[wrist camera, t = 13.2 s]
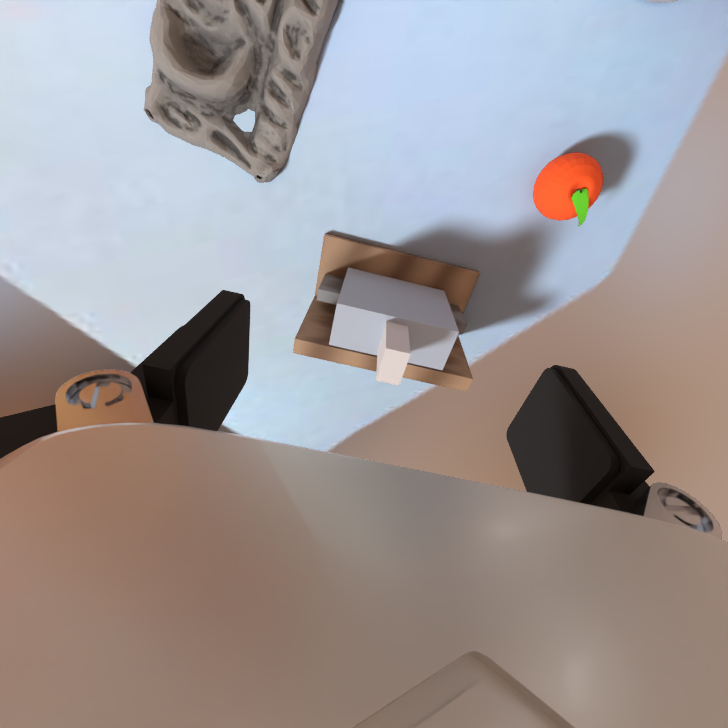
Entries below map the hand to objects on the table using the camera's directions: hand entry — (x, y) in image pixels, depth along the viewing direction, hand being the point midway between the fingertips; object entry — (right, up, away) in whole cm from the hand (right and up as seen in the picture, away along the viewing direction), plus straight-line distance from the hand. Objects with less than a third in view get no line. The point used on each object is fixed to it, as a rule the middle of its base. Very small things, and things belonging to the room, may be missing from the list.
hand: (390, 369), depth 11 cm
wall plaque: (-15, +35, +27) cm, 47 cm away
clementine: (+23, +22, +32) cm, 45 cm away
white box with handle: (+3, +10, +39) cm, 41 cm away
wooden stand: (+3, +11, +40) cm, 42 cm away
